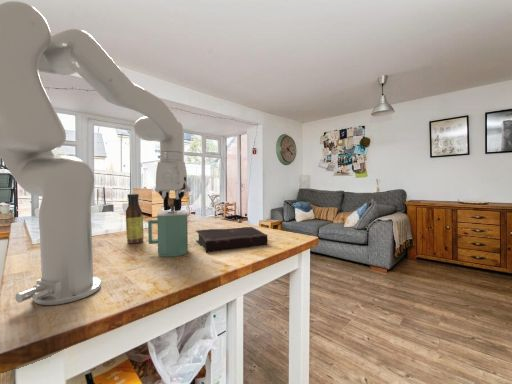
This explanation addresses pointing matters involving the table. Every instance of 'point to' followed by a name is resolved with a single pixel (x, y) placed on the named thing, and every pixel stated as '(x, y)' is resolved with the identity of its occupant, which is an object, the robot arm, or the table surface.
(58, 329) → the table surface
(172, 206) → the plunger
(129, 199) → the sauce bottle
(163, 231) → the press carafe
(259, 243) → the diary
